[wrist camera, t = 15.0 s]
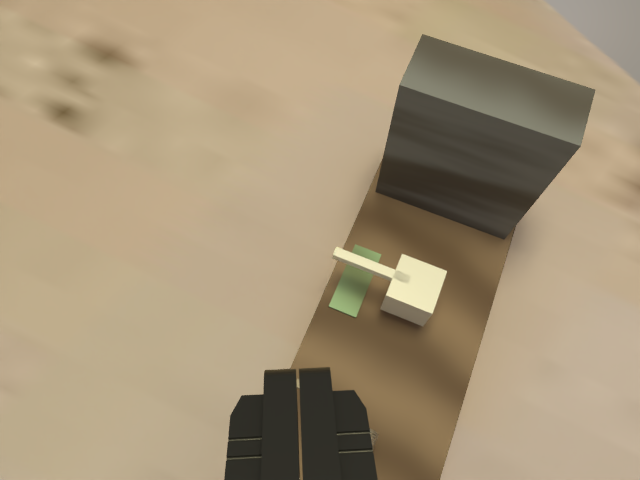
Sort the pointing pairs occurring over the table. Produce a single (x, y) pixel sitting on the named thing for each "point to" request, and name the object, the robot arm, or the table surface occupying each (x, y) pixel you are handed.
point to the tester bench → (439, 241)
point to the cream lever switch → (403, 284)
